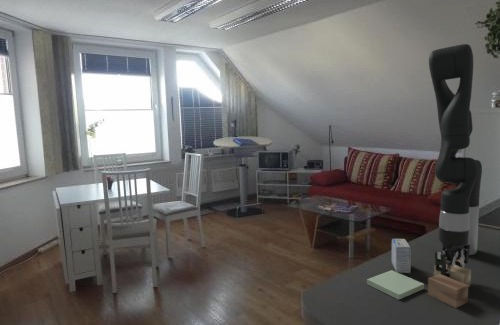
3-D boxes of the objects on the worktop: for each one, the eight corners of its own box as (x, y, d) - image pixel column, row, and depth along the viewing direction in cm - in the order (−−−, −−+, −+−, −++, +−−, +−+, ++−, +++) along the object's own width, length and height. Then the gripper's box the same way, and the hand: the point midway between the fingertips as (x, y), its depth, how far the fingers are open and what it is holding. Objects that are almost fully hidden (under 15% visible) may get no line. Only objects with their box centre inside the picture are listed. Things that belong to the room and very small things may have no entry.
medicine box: (410, 273, 111) (411, 247, 110) (395, 273, 112) (396, 246, 111) (405, 263, 119) (405, 238, 117) (391, 262, 119) (391, 238, 118)
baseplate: (391, 274, 111) (391, 270, 110) (423, 288, 101) (424, 283, 101) (366, 284, 105) (366, 279, 105) (399, 299, 96) (399, 294, 95)
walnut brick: (439, 290, 100) (439, 273, 100) (467, 303, 93) (468, 285, 93) (427, 295, 98) (428, 278, 97) (455, 308, 91) (456, 290, 90)
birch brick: (442, 276, 108) (442, 261, 108) (470, 286, 102) (471, 270, 101) (433, 281, 106) (434, 265, 105) (461, 291, 99) (462, 274, 98)
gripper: (455, 218, 108) (452, 271, 110) (426, 227, 101) (424, 283, 103) (481, 224, 102) (478, 280, 104) (452, 234, 95) (450, 293, 97)
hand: (451, 281), depth 104 cm, fingers open, 6 cm apart
